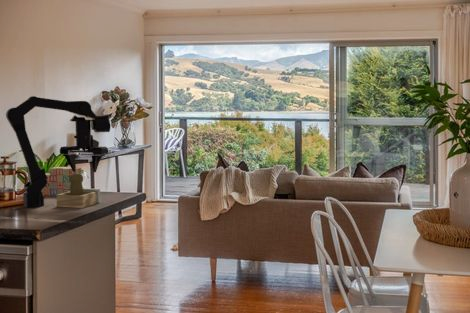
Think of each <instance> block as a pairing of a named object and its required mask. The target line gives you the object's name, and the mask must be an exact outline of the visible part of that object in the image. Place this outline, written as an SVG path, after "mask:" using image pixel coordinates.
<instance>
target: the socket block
mask: <svg viewBox="0 0 470 313" xmlns="http://www.w3.org/2000/svg"><path fill="white" fill-rule="evenodd" d="M83 193H84V195H81V196H79V195H70V191H69V192H66V193H62V194H58V195H56V196H55V197H56V207H58V208H59V207H60V208H77V209H78V208H79V209H83V208H86V207H89V206H93V205H96V204H98V203H97V192H89V191H83Z"/></svg>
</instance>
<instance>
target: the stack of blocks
mask: <svg viewBox="0 0 470 313" xmlns="http://www.w3.org/2000/svg"><path fill="white" fill-rule="evenodd" d="M45 174H46V176H47V177H48V179H47V178H46V179H47V184H46V186H45V187H44V188H42V191H41V192H42V194H43V196H53V197H54V196H55V197H56V195H58V194H62V193H66V192H69V191H70V188H71V182H70V180H69V177H70V175H73V174H81V175H82V176H83V174H82V167H78V166H76V171H75V172H73V170H72V168H71V166H53V167H50V168H49V172H45Z"/></svg>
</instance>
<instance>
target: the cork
mask: <svg viewBox="0 0 470 313" xmlns="http://www.w3.org/2000/svg"><path fill="white" fill-rule="evenodd" d="M81 174H82V173H81ZM81 174H73V175H70V177H69V180H70V182H71V188H70V195H79V196H81V195H84V193H83V182H84V176H83V174H82V175H81Z"/></svg>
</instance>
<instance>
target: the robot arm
mask: <svg viewBox="0 0 470 313" xmlns="http://www.w3.org/2000/svg"><path fill="white" fill-rule="evenodd" d="M36 107H37V108H44V109H50V110H51V109H52V110H59V111H65V112H69V113H71V114H74V115H73V116H72V118H70V120H69V121H70V122H75V135H73V138H74V139H75V145H65V146H60V148H59V155H62V157H64V158H65V159H66V161H67V164H69V167H71V168H72V170H73V172H75V171H76V167H77V166H76V157H77V155H78V154H77V153H84V154H85V153H87V154H88V153H91V154H93V155H91V163H92V170H93V173H97V170H98V167H99V164H100V161H101V159H102V158H103V157H105V156H106V155H107V154H109V149H108V147H107V146H100V142H99V141H98V140H96V139H94V135H93V134H92V131H93V132H94V133H110V131H111V121H110V119H109V115H107V114H105V115H96V113H95V112H94V111H93V110H92V106H91V104H90V102H88V101H86V100H77V101H76V100H74V101H71V100H70V101H69V100H68V101H67V100H66V101H65V100H59V99H52V98H45V97H37V96H34V95H32V96H29V97H28V98H27V99H26V100H24V101H23V102H21V103H20V104H19V105H17V106H16V107H10V108H9V109H8V110H7V111H6V113H5V117H6V119H7V122H8V123H9V125H10V127H11V128H12V130H13V131H14V133H15V135H16V139H17V141H18V144H19V147H20V150H21V153H22V155H23V159H24V161H25V164H26V168H27V176H28V181H27V182H26V184H25V185H24V186H23V189H24V192H23V195H22V197H23V207H24V208H27V209H35V208H40V207H44V206H45V195H43V194H42V192H41V191H42V188H44V187H45V186H46V184H47V179H48V177H47V176H46V174H45V173H46V169H45V167H43V166H41V167H40V166H39V164H38V160H37V159H36V156H35V153H34V150H33V147H32V145H31V142H30V139H29V136H28V132H27V130H26V120H25V115H27V114H28V113H29V112H30V111H31V110H33V109H35V108H36ZM78 116H79V117H78ZM86 118H88V119H86ZM46 178H47V179H46Z"/></svg>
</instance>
